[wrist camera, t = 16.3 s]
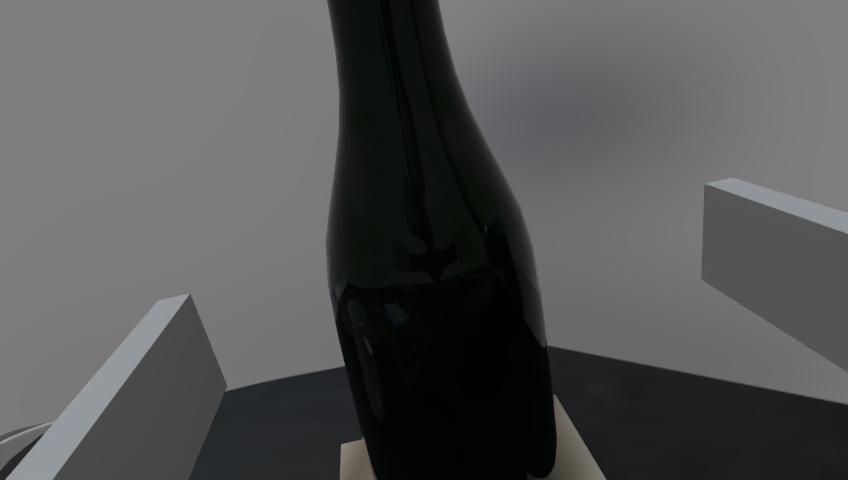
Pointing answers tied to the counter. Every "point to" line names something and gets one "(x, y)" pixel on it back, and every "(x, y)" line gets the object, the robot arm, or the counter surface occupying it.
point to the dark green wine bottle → (431, 264)
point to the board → (575, 458)
